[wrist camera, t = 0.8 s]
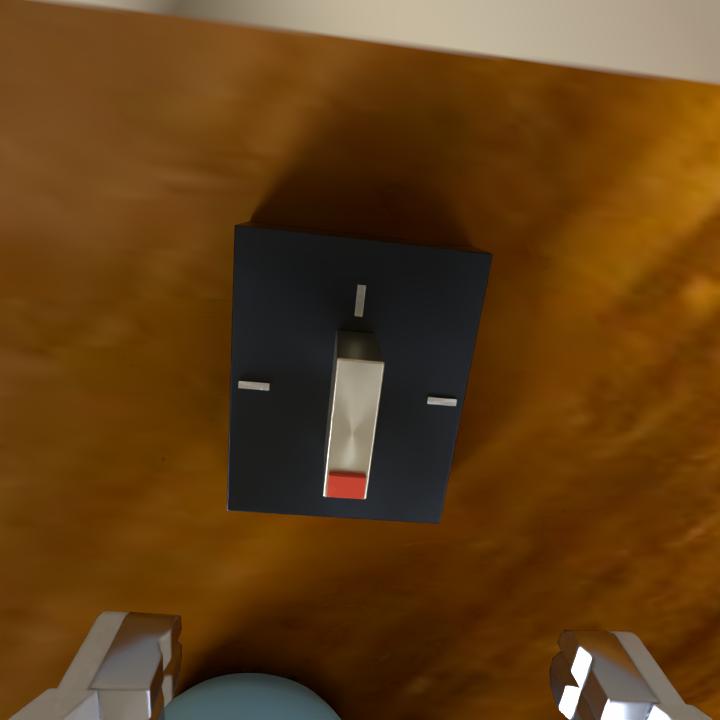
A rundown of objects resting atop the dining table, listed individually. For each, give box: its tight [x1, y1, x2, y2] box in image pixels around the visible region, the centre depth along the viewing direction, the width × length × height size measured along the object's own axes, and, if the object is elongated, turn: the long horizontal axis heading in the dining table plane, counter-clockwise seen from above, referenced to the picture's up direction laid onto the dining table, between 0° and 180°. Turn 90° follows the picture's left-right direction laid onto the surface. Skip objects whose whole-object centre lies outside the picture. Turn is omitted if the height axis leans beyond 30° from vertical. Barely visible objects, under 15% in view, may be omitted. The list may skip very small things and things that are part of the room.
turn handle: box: [323, 330, 385, 499], centre depth 20 cm, size 6×2×4 cm, turn 173°
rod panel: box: [227, 222, 493, 524], centre depth 24 cm, size 14×11×3 cm
